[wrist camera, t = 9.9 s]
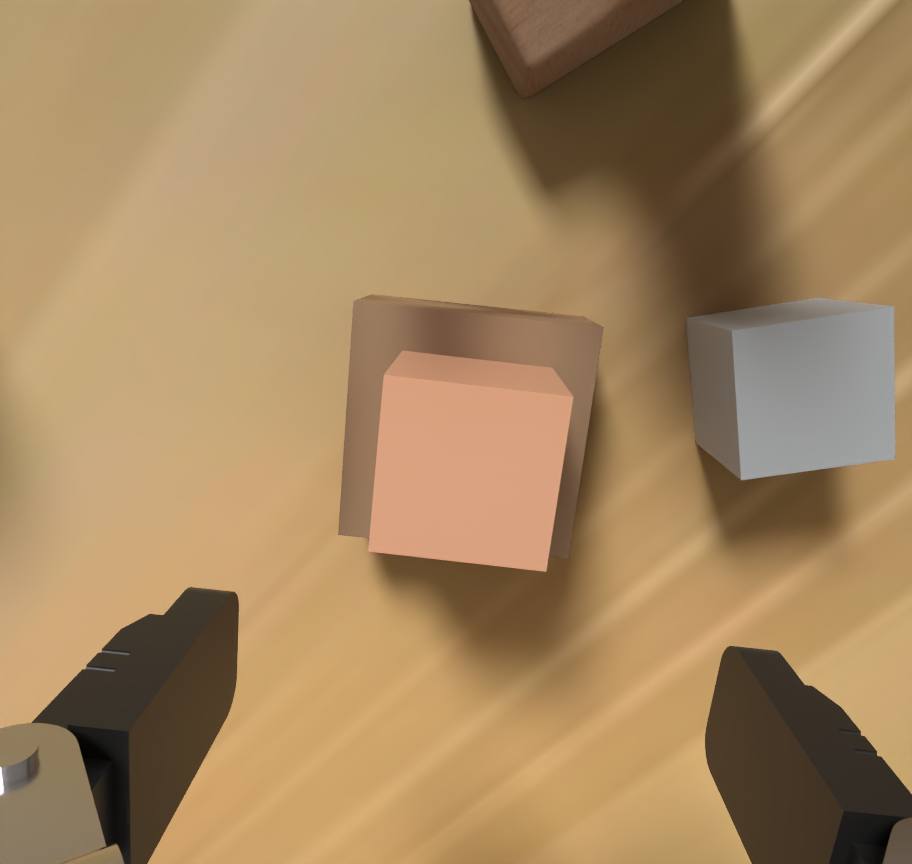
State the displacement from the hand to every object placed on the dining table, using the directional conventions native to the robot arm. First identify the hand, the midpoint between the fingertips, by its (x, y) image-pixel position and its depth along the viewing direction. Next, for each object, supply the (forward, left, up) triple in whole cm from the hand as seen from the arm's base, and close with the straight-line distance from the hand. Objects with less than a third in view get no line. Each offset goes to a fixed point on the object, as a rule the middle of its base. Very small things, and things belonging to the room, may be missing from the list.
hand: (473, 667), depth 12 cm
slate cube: (-12, -3, -20) cm, 23 cm away
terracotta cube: (0, 0, -15) cm, 15 cm away
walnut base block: (0, 0, -20) cm, 20 cm away
